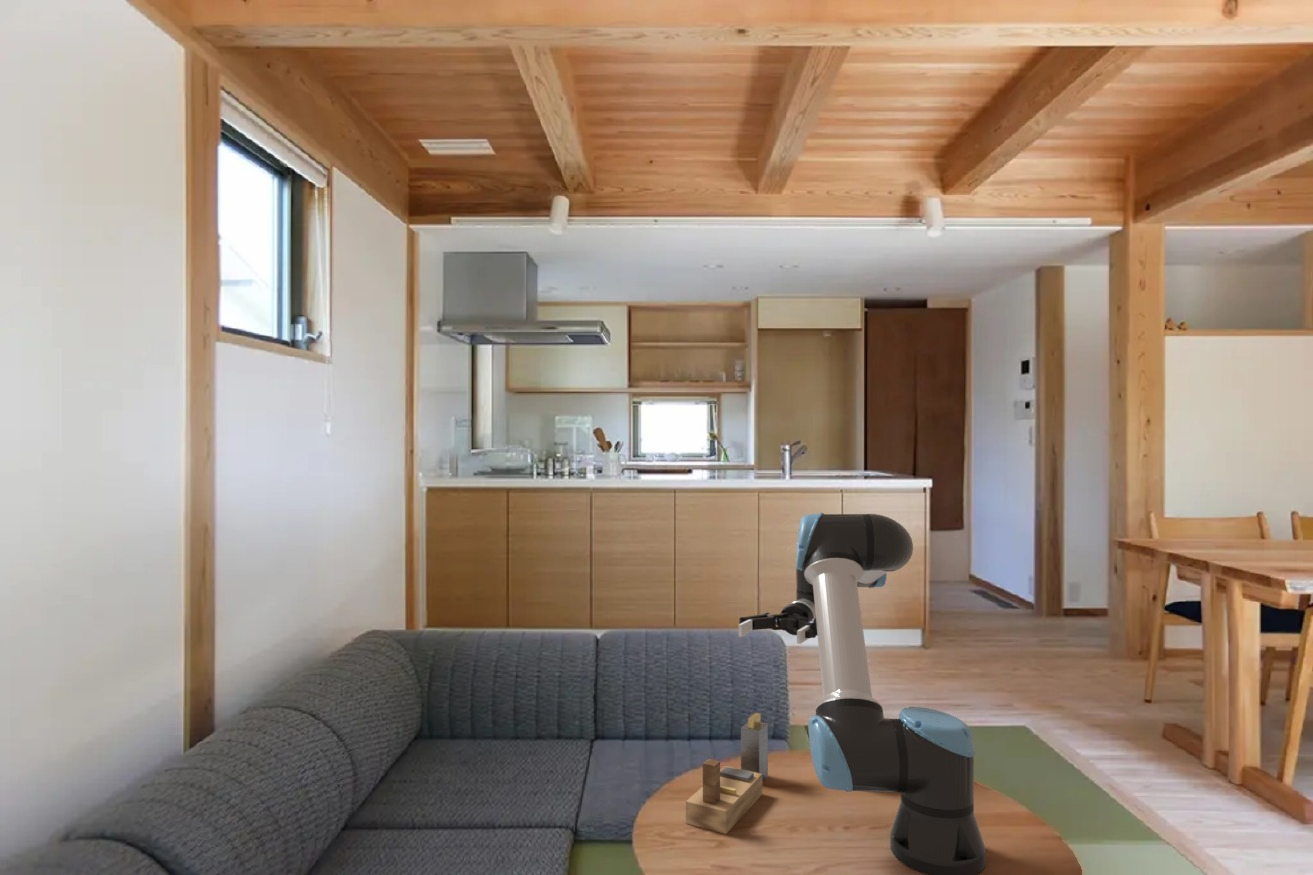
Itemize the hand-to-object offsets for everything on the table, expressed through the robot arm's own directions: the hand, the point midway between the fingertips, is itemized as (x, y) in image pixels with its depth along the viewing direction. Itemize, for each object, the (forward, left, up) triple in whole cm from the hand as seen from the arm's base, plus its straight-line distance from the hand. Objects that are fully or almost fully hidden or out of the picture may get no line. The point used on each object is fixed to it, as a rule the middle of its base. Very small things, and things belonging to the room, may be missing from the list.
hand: (768, 633), depth 166 cm
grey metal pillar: (0, +9, -28) cm, 30 cm away
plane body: (0, +24, -28) cm, 37 cm away
